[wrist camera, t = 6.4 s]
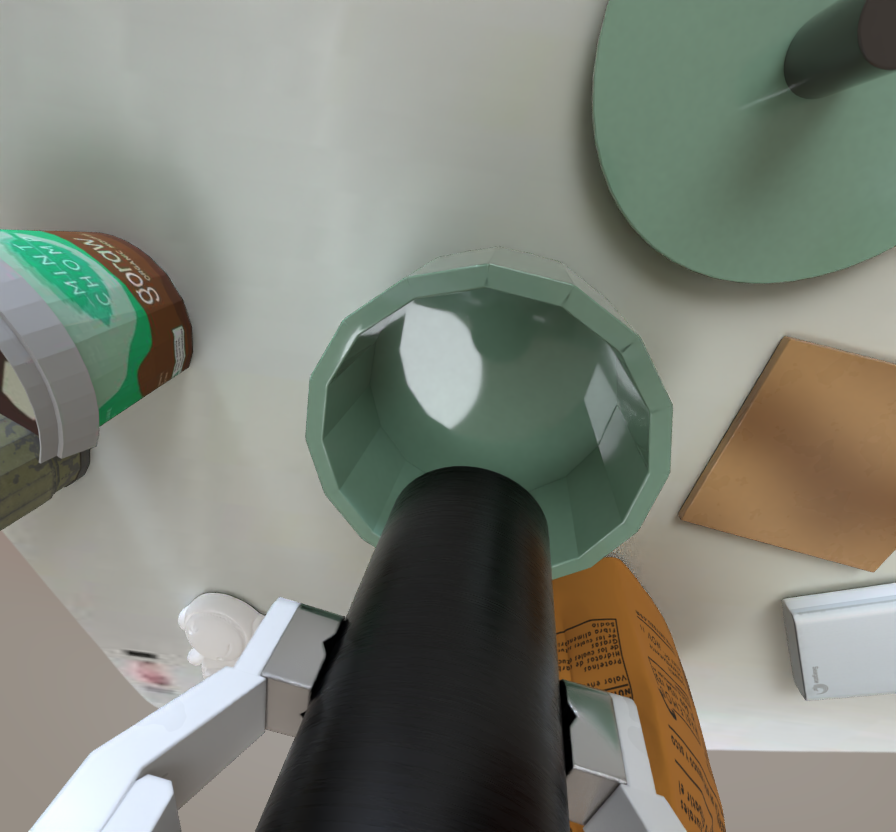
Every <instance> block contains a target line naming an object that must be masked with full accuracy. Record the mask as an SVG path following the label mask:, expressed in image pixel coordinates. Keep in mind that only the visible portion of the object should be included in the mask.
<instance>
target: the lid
mask: <svg viewBox="0 0 896 832" xmlns="http://www.w3.org/2000/svg"><path fill="white" fill-rule="evenodd" d="M592 121H593V132H594V141H595V145H596V150H597V154H598V159H599V164H600V167H601V170H602V173H603V176H604V178H605V181H606V184H607V187H608V189H609V192H610V193H611V195H612V197H613V199H614V201H615V203H616V205H617V206H618V208H619V210H620V212H621V213H622V215H623V216H624V217H625V219H626V220H627V221H628V223H629V224H630V225H631V227H632V228H633V229H634V231H635V232H636V233H637V234H638V235H639V236H640V237H641V238H642V239H643V240H644V241H646V242H647V243H648V244H649V245H650V246H651V247H652V248H653V249H655V250H656V251H658V252H659V253H660V254H662V255H663V256H665V257H666V258H667V259H669V260H671V261H673V262H675V263H677V264H679V265H681V266H683V267H685V268H687V269H689V270H691V271H694V272H697V273H700V274H703V275H706V276H709V277H712V278H715V279H721V280H727V281H732V282H738V283H758V284H768V283H781V282H792V281H797V280H803V279H808V278H813V277H818V276H822V275H825V274H828V273H832V272H835V271H838V270H841V269H845V268H848V267H850V266H853V265H855V264H858V263H860V262H862V261H865V260H867V259H870V258H872V257H874V256H877V255H879V254H881V253H883V252H885V251H887V250H888V249H890V248H892V247H894V246H896V0H609V1H608V4H607V7H606V10H605V14H604V18H603V22H602V26H601V30H600V34H599V39H598V43H597V48H596V55H595V63H594V70H593V78H592Z"/></svg>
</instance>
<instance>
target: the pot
mask: <svg viewBox="0 0 896 832" xmlns="http://www.w3.org/2000/svg"><path fill="white" fill-rule="evenodd" d="M672 405H673V404H672V402H671V400H670V398H669V396H668V394H667V392H666V390H665V388H664V385H663V383H662V381H661V379H660V377H659V375H658V373H657V371H656V369H655V367H654V364H653V362H652V360H651V358H650V356H649V354H648V352H647V350H646V348H645V345H644V343H643V341H642V339H641V338H640V336H639V335H638V334H637V333H636V332H635V330H634V329H633V328H632V327H631V326H630V325H629V324H628V322H627V321H626V320H625V319H624V318H623V317H622V315H621V314H620V313H619V312H618V311H617V310H616V309H615V307H614V306H613V305H612V304H611V303H610V302H609V301H608V299H607V298H605V297H604V296H603V295H602V294H600V293H599V292H598V291H596V290H595V289H594V288H593V287H591V286H590V285H589V284H588V283H587V282H586V281H585V280H583V279H582V278H581V277H579V276H578V275H576V274H575V273H574V272H573V271H571V270H570V269H569V268H568V267H566V266H565V265H564V264H563V263H561V262H559V261H556V260H552V259H548V258H544V257H541V256H538V255H535V254H532V253H528V252H522V251H517V250H512V249H508V248H504V247H500V246H499V247H491V248H486V249H479V250H469V251H465V252H461V253H457V254H451V255H446V256H440V257H438V258H435V259H434V260H432V261H431V262H429V263H427V264H426V265H424V266H422V267H421V268H419V269H418V270H416V271H414V272H413V273H411V274H410V275H408V276H406V277H405V278H403V279H402V280H400V281H399V282H397V283H396V284H394V285H393V286H391V287H390V288H388V289H387V290H386V291H384V292H383V293H381V294H380V295H378V296H377V297H375V298H374V299H372V300H371V301H369V302H368V303H366V304H365V305H363V306H362V307H360V308H359V309H357V310H356V311H354V312H353V313H352V314H350V315H349V316H347V317H346V318H345V319H344V320H343V321H342V322H341V324H340V326H339V327H338V329H337V331H336V333H335V334H334V336H333V338H332V340H331V341H330V343H329V345H328V346H327V348H326V350H325V352H324V353H323V355H322V357H321V359H320V360H319V362H318V364H317V366H316V367H315V369H314V371H313V372H312V374H311V377H310V381H309V394H308V408H307V421H306V435H305V438H306V442H307V445H308V448H309V451H310V454H311V457H312V459H313V462H314V465H315V468H316V471H317V474H318V477H319V479H320V482H321V485H322V488H323V491H324V493H325V495H326V496H327V498H328V499H329V500H330V501H331V502H332V504H333V505H334V506H335V507H336V508H337V510H338V511H339V512H340V513H341V514H342V516H343V517H344V518H345V519H346V520H347V522H348V523H349V524H350V525H351V526H352V528H353V529H354V530H355V531H356V533H357V534H358V535H359V536H360V537H361V538H362V539H363V540H364V541H366V542H367V543H369V544H371V545H372V546H374V547H375V548H376V546H377V543H378V541H379V539H380V536H381V534H382V532H383V529H384V527H385V524H386V522H387V520H388V517H389V515H390V513H391V510H392V508H393V506H394V503H395V501H396V499H397V497H398V496H399V494H400V493H401V491H402V490H403V489H404V488H405V487H406V486H407V485H408V484H409V483H410V482H412V481H413V480H414V479H416V478H417V477H419V476H421V475H423V474H425V473H427V472H430V471H432V470H435V469H439V468H443V467H450V466H473V467H480V468H484V469H489V470H492V471H495V472H498V473H500V474H502V475H504V476H506V477H509V478H510V479H512V480H514V481H515V482H517V483H518V484H520V485H521V486H522V487H523V488H525V489H526V490H527V491H528V492H529V493H530V494H531V495H532V496H533V497H534V499H535V500H536V501H537V503H538V504H539V505H540V507H541V509H542V511H543V512H544V515H545V517H546V520H547V524H548V529H549V541H550V555H551V569H552V580H554V579H557V578H560V577H563V576H566V575H570V574H573V573H576V572H579V571H582V570H585V569H588V568H591V567H592V566H593V565H595V564H596V563H597V562H599V561H600V560H601V559H603V558H604V557H605V556H606V555H608V554H609V553H610V552H612V551H613V550H614V549H616V548H617V547H618V546H619V545H621V544H622V543H623V542H625V541H626V540H627V539H629V538H630V537H631V536H632V535H634V534H635V533H636V532H638V529H640V527H641V525H642V523H643V522H644V520H645V518H646V516H647V514H648V513H649V511H650V509H651V507H652V505H653V504H654V502H655V500H656V498H657V496H658V494H659V493H660V491H661V489H662V487H663V485H664V484H665V482H666V480H667V478H668V476H669V474H670V467H671V442H672V417H673V406H672Z"/></svg>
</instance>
